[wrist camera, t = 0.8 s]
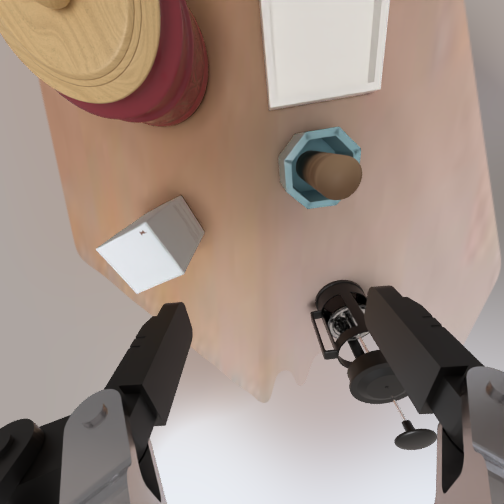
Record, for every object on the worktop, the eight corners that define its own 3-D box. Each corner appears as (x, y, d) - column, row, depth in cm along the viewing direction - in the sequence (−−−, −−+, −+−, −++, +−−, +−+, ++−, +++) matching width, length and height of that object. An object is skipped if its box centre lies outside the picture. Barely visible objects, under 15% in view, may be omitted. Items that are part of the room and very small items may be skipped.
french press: (367, 275, 40) (486, 414, 20) (366, 312, 44) (464, 459, 24) (304, 286, 41) (354, 428, 21) (309, 321, 45) (355, 468, 25)
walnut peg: (294, 152, 30) (318, 159, 19) (323, 148, 29) (364, 151, 19) (296, 182, 32) (318, 202, 21) (323, 178, 31) (360, 197, 21)
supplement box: (143, 213, 35) (91, 247, 24) (182, 193, 33) (145, 220, 22) (170, 250, 38) (135, 296, 27) (206, 233, 36) (185, 274, 25)
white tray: (252, -66, 21) (252, -90, 19) (387, -97, 20) (403, -126, 18) (268, 110, 28) (270, 107, 26) (370, 93, 27) (380, 88, 25)
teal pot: (276, 137, 30) (282, 135, 23) (339, 126, 29) (363, 122, 23) (281, 198, 33) (287, 211, 27) (337, 190, 33) (356, 202, 27)
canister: (82, -2, 24) (-258, -289, 8) (198, -20, 23) (80, -369, 7) (126, 132, 29) (-19, 121, 14) (218, 121, 29) (178, 98, 13)
